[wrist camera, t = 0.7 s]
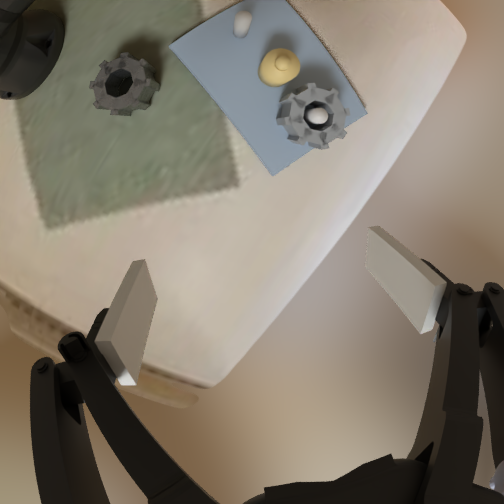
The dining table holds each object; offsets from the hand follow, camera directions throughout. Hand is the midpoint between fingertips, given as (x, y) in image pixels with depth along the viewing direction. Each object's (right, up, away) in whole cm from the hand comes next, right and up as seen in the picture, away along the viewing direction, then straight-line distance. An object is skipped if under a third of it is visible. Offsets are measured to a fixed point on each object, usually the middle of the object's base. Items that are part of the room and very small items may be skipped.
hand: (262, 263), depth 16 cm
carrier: (+2, +23, +14) cm, 27 cm away
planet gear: (-16, +22, +13) cm, 30 cm away
